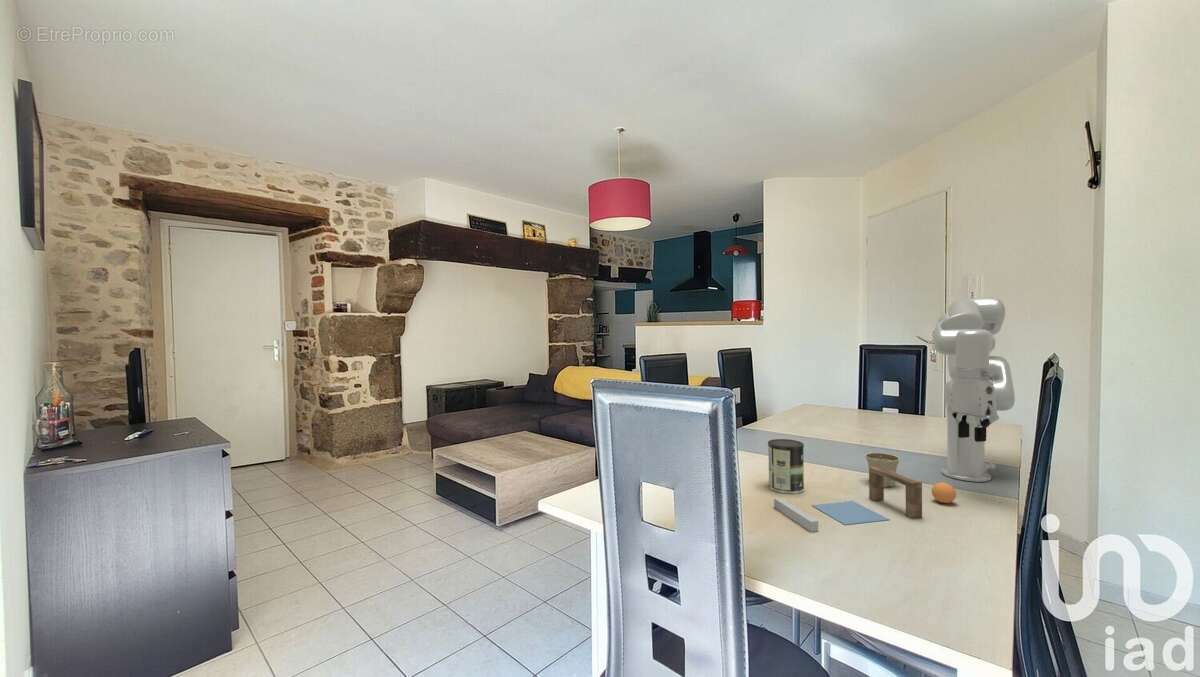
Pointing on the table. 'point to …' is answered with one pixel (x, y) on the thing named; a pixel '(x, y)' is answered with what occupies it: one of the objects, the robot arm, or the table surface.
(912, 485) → the bridge
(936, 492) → the ball
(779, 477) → the coffee can
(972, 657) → the table surface
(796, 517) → the wall
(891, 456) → the flower pot
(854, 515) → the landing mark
